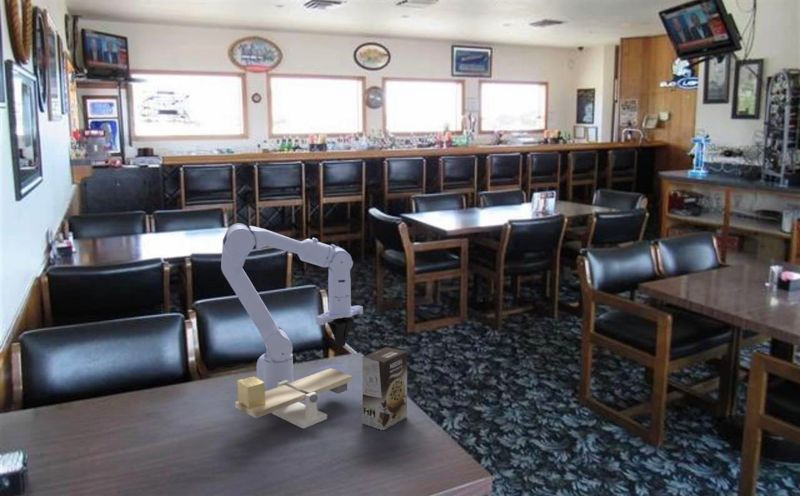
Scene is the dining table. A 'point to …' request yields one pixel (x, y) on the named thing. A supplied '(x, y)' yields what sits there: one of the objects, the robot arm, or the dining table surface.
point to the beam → (299, 391)
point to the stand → (301, 411)
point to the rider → (251, 392)
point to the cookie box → (384, 388)
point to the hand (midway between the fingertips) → (340, 345)
